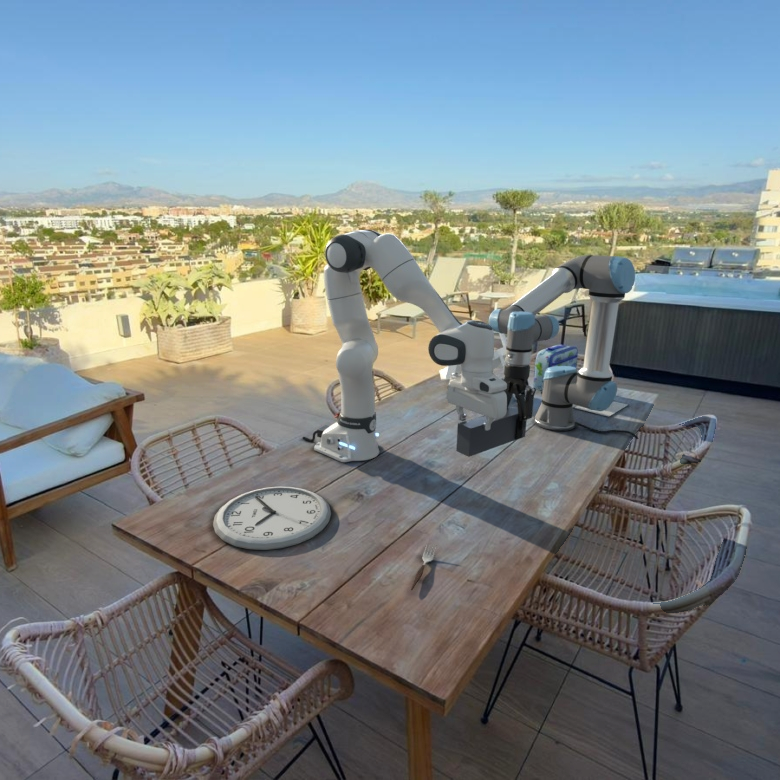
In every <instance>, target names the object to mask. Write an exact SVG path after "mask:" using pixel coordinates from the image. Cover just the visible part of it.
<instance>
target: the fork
mask: <svg viewBox="0 0 780 780" xmlns="http://www.w3.org/2000/svg"><path fill="white" fill-rule="evenodd" d="M428 545H429V546H428ZM431 545H432V547H431ZM434 545H435V544H434V543H431V542H430V543H429V542H427V544H426V546H425V549H424V552H423V555H422V561H423V564H422V565H421V566H420V568H419V569H418V570H417V572H416V575H415V576H414V579H413V583H412V585H411V589H410V591H413V589H415V587H416V585H417V583H418V582H419V580H420V579H421V577H422V575H423V573H424V570H425V566H426V564H428V563H431V562H432V561H434V560H435V554H436V549H437V545H438V544H436V545H435V548H434ZM430 549H431V550H430ZM433 549H434V551H433Z"/></svg>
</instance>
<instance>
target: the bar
mask: <svg viewBox="0 0 780 780" xmlns="http://www.w3.org/2000/svg"><path fill="white" fill-rule="evenodd" d="M518 418H519V415H518V407H517V406H511V407H508V409H507V412H506V415H505V416H504V417H503V418H500V419H494V420H493V422H492V423H491V427H490V430H488V431H486V430H484V429H482V427H483V423H486V421H487V419H486V416H485V415H481V416H477V417H474V418H471V419H468V420H467V419H466V420H465V421H460V422H457V431H456V450H455V451H456V452H458V453H459V454H462V455H464V456H466V457H467V458H469V457H472V456H475V455H478V454H480V453H483V452H486V451H489V450H492V449H495V448H498V447H500V446H503V445H507V444H509V443H512V442H514V441H517V440H516V439H515V430H516V420H517V419H518ZM527 420H528V419H527ZM527 420H526V423H525V429H523V434H522V438H521V439H523V438H525V437H526V430H527V422H528V421H527Z"/></svg>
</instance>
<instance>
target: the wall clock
mask: <svg viewBox="0 0 780 780" xmlns="http://www.w3.org/2000/svg"><path fill="white" fill-rule="evenodd" d="M331 516H332V512H331V507H330V504H329V503H328V502H327V500H326V499H325V498H323V497H322V496H320V495H319V494H317V493H316V492H313V491H310V490H308V489H305V488H300V487H293V486H271V487H263V488H259V489H253V490H251V491H247V492H244V493H242V494H239V495H238V496H235V497H234V498H232V499H230V500H228V501H227V502H226V503H225V504H223V505H222V506H221V507H220V508H219V510H218V511H217V512H216V514H215V515H214V518H213V522H212V527H213V529H214V533H215V535H217V536H218V537H219V538H220V539H221V541H222V542H225V543H227V544H229V545H231V546H233V547H237V548H242V549H246V550H258V551H259V550H260V551H267V550H276V549H284V548H288V547H291V546H295V545H299V544H301V543H303V542H305V541H308V540H310V539H312V538H314V537H316V536H317V535H318V534H319V533H321V532H322V531H323V530H324V529H325V527H326V526H327V525H328V524H329V522H330V520H331Z"/></svg>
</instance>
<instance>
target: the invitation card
mask: <svg viewBox="0 0 780 780" xmlns="http://www.w3.org/2000/svg"><path fill="white" fill-rule="evenodd" d="M628 406H629V404H627V403H623V402H618V401H614V400H613V402H612V404H611V405H610V406H609V407H608V408H607V409H606V410H604V411H595V410H590V409H588V408H584V407H581V406H578V405H575V406H574V407H573V409H575V410H581V411H584V412H587V413H593V414H596V415H600V416H604V417H608V418H609V417H611V416H613V415H614V414H616V413H617V412H619V411H621V410H623V409H624V408H626V407H628Z"/></svg>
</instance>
